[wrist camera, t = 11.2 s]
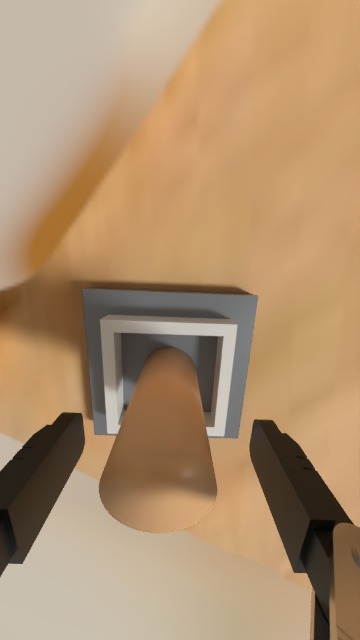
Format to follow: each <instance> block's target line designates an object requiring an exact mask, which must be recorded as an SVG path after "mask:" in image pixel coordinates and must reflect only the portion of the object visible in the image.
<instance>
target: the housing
mask: <svg viewBox="0 0 360 640" xmlns="http://www.w3.org/2000/svg"><path fill="white" fill-rule="evenodd" d="M82 294H83V305H84V317H85V329H86V340H87V352H88V364H89V375H90V387H91V399H92V410H93V422H94V434H95V435H117V434H118V431H119V429H120V426H121V423H122V421H123V418H124V415H125V413H126V410H127V407H128V405H129V402H130V400H131V397H132V394H133V392H134V389H135V386H136V384H137V381H138V378H139V376H140V373H141V371H142V368H143V365H144V363H145V361H146V359H147V357H148V356H149V355H150V354H151V353H153V352H154V351H156V350H158V349H161V348H165V347H173V348H178V349H180V350H182V351H184V352H186V353H187V354H188V355H189V356H190V357H191V359H192V360H193V362H194V365H195V369H196V374H197V380H198V385H199V391H200V396H201V402H202V407H203V413H204V418H205V424H206V429H207V435H208V438H238V435H239V428H240V421H241V414H242V406H243V399H244V392H245V385H246V378H247V371H248V364H249V357H250V350H251V343H252V336H253V329H254V322H255V315H256V308H257V301H258V296H256V295H253V294H236V293H211V292H186V291H161V290H136V289H111V288H85V289H82Z"/></svg>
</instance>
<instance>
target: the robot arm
mask: <svg viewBox="0 0 360 640" xmlns="http://www.w3.org/2000/svg"><path fill="white" fill-rule="evenodd" d="M84 444H85V435H84V426H83V417H82V414H81V413H67V412H64V413H62V414H60V416H59V417H58V418H57V419H56V420H55V421H54V423H53V424H52V425H46V426H45V427H44V428H42V429H41V430H39V431H38V432H37V433H35V434H34V435H33V436H32V437H31V438H30V439H29V440H28V441H27V442H26V444H25V445H24V446H23V448H22V449H20V450H19V451H18V452H17V454H16V455H15V456H14V457H13V459H12V460H10V461H9V462H8V463H7V465H6V466H5V467H4V468H3V469H2V470H1V471H0V576H1V575H2V573H3V571H4V570H5V568H6V566H7V565H8V563H12V564H22V563H23V561H24V560H25V558H26V556H27V554H28V552H29V551H30V549H31V547H32V545H33V543H34V541H35V539H36V538H37V536H38V534H39V532H40V530H41V528H42V527H43V524H44V523H45V521H46V519H47V517H48V515H49V513H50V512H51V510H52V508H53V506H54V504H55V502H56V501H57V499H58V497H59V495H60V493H61V491H62V490H63V488H64V486H65V484H66V482H67V480H68V479H69V477H70V474H71V473H72V471H73V469H74V467H75V466H76V464H77V462H78V460H79V458H80V456H81V454H82V452H83V449H84ZM250 457H251V461H252V463H253V466H254V469H255V471H256V474H257V477H258V479H259V482H260V484H261V487H262V490H263V492H264V495H265V498H266V500H267V503H268V506H269V508H270V511H271V513H272V516H273V519H274V521H275V524H276V527H277V529H278V532H279V535H280V537H281V540H282V542H283V545H284V548H285V550H286V553H287V556H288V558H289V561H290V563H291V566H292V569H293V571H294V573H307V575H308V577H309V579H310V582H311V584H312V587H313V589H312V598H311V623H310V624H311V625H310V640H360V528H359V527H357V526H355V525H354V524H353V523H352V521H351V520H350V519H349V517H348V516H347V514H346V513H345V511H344V510H343V508H342V507H341V505H340V504H339V503H338V501H337V500H336V498H335V497H334V495H333V494H332V492H331V491H330V490H329V488H328V487H327V485H326V484H325V482H324V481H323V479H322V478H321V476H320V475H319V474H318V472H317V471H315V468H314V466H313V465H312V463H311V462H310V461H309V459H307V456H306V455H305V453H304V452H303V450H302V449H301V447H300V446H299V445H298V443H296V442H295V441H294V440H293V439H292V438H291V437H290V436H289V435H287V434H286V433H281V432H280V430H279V429H278V427H277V426H276V424H275V423H274V421H272V420H257V419H256V420H254V422H253V428H252V434H251V440H250Z"/></svg>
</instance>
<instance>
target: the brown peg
mask: <svg viewBox="0 0 360 640" xmlns="http://www.w3.org/2000/svg"><path fill="white" fill-rule="evenodd" d="M99 494H100V498H101V501H102V503H103V505H104V507H105V509H106V510H107V511H108V512H109V514H110V515H111V516H112V517H114V518H115V519H116V520H117V521H119V522H120V523H122V524H124V525H126V526H128V527H130V528H133V529H136V530H139V531H143V532H150V533H168V532H174V531H179V530H182V529H185V528H187V527H190V526H192V525H194V524H195V523H197V522H198V521H200V520H201V519H202V518H203V517H205V516H206V515H207V513H208V512H209V511H210V510H211V508H212V506H213V505H214V502H215V500H216V495H217V485H216V479H215V473H214V468H213V462H212V457H211V451H210V446H209V440H208V435H207V429H206V424H205V418H204V413H203V407H202V402H201V396H200V391H199V385H198V380H197V374H196V369H195V365H194V362H193V360H192V359H191V357H190V356H189V355H188V354H187V353H186V352H184V351H182V350H180V349H178V348H173V347H165V348H161V349H158V350H156V351H154V352H153V353H151V354H150V355H149V356H148V357H147V359H146V361H145V363H144V365H143V368H142V371H141V373H140V376H139V378H138V381H137V384H136V386H135V389H134V392H133V394H132V397H131V400H130V402H129V405H128V407H127V410H126V413H125V415H124V418H123V421H122V423H121V426H120V429H119V431H118V434H117V436H116V439H115V442H114V444H113V447H112V450H111V452H110V455H109V458H108V460H107V463H106V465H105V468H104V471H103V473H102V476H101V479H100V483H99Z"/></svg>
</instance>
